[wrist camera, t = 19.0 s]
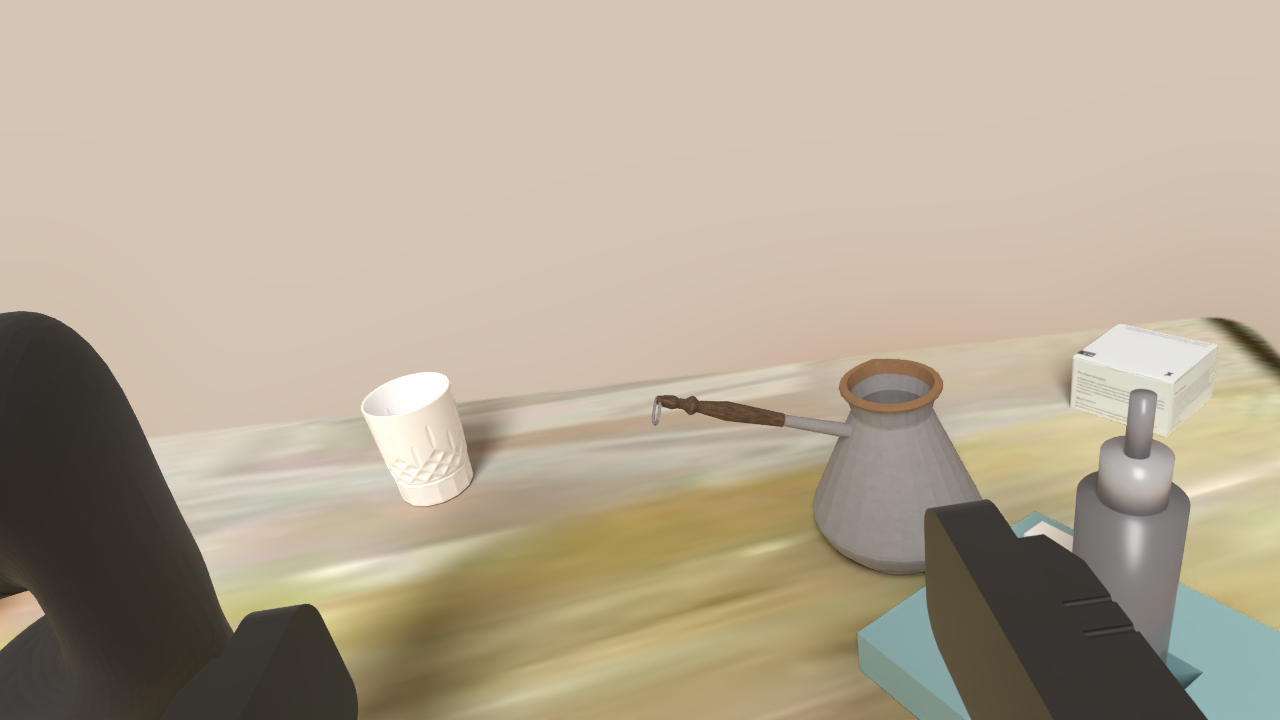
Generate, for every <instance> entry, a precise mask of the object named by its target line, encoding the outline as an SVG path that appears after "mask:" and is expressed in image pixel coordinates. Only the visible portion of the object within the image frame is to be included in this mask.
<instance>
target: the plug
mask: <svg viewBox="0 0 1280 720" xmlns="http://www.w3.org/2000/svg"><path fill="white" fill-rule="evenodd" d="M1157 397H1158V395H1157V393H1155V392H1154V391H1151V390H1148V389H1135V390H1132V391H1131V392H1130V397H1129V407H1128V416H1127V426H1126V435H1125V436H1119V437H1114V438H1111V439H1109V440H1107V441H1105V442H1104V443H1103V444H1102V446H1101V449H1100V460H1099V471H1097V472H1094V473H1091V474H1089V475H1087V476H1086V477H1084V478H1083V479H1082V480H1081V481H1080V483H1079V484H1078V487H1077V496H1076V509H1075V522H1074V535H1073V548H1072V553H1074V554H1075V555H1077V556H1078V557H1080V558H1081V559H1083V560H1084V561H1085V562H1086V563H1087V565H1088V566H1089V567H1090V569H1091V570H1092V571H1093V572H1094V574H1095V575H1096V576H1097V578H1098V579H1099V580H1100V581H1101V583H1102V584H1103V585H1104V587H1105V588H1106V589H1107V590H1108V592H1109V593H1110V594H1111V599H1112V601H1113V602H1117V603H1118V605H1119V606H1120V607H1121V608H1122V610H1123V611H1124V612H1125V614H1126V615H1127V616H1128V617H1129V619H1130V620H1131V621H1132V623H1133V626H1134V629H1135V631H1136V632H1137V631H1140V633H1141V634H1142V635H1143V637H1144V638H1145V639H1146V640H1147V642H1148V643H1149V644H1150V646H1151V647H1152V648H1153V649H1154V651H1155V652H1156V653H1157V655H1158V656H1159V657H1160V658H1161V660H1162V661H1163V662H1164V664H1165V665H1166V661H1167V654H1168V648H1169V642H1170V635H1171V629H1172V622H1173V616H1174V609H1175V603H1176V597H1177V590H1178V584H1179V577H1180V571H1181V564H1182V558H1183V552H1184V545H1185V539H1186V532H1187V526H1188V519H1189V513H1190V501H1189V498H1188V496H1187V495H1186V493H1185V492H1184V491H1183V490H1182V489H1181V488H1180V487H1178V486H1177V485H1176V484H1174V483H1173V482H1172V476H1173V469H1174V461H1175V455H1174V453H1173V451H1172V450H1171V449H1170V448H1169V447H1167V446H1166V445H1164V444H1163V443H1161V442H1159V441H1156V440H1153V439H1152V437H1153V429H1154V421H1155V413H1156V405H1157Z"/></svg>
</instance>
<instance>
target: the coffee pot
mask: <svg viewBox="0 0 1280 720" xmlns="http://www.w3.org/2000/svg"><path fill="white" fill-rule="evenodd" d="M942 389H943V381H942V379H941V377H940V375H939V373H937V372H936V371H935V370H934V369H932V368H931V367H928V366H926V365H924V364H921V363H918V362H914V361H908V360H899V359H872V360H869V361H867V362H865V363H862V364H860V365H858V366H856V367H854V368H853V369H851V370H850V371H848V372H847V373H846V374H845V375H844V376H843V377H842V379H841V381H840V385H839V390H840V393H841V396H842V397H843V398H844V399H845V400H846V401H847V402H848V403H849V405H850V408H851V411H850V413H849V416H848V418H847V420H846V423H841V422H834V421H827V420H819V419H812V418H804V417H797V416H790V415H785V414H783V413H779V412H774V411H770V410H765V409H760V408H756V407H751V406H747V405H742V404H737V403H733V402H728V401H698V400H697V398H696V397H694V396H691V397H689V398H687V399H682V398H680V399H679V398H678V397H676V396H673V395H664V396H657V397H656V398H655V401H654V406H653V413H652V423H653V425H655V426H656V425H658V422H659V419H660V414H661V406H662V407H666V408H669V409H676V408H678V409H684V410H685V411H686V412H687V413H688V414H689V415H692V414H694V413H696V412H698V413H702V414H705V415H708V416H712V417H715V418H718V419H721V420H724V421H733V422H742V423H752V424H761V425H770V426H780V427H783V426H786V427H792V428H797V429H802V430H808V431H813V432H818V433H824V434H829V435H834V436H840V437H839V439H838V441H837V444H836V446H835V448H834V451H833V453H832V455H831V457H830V460H829V462H828V464H827V467H826V469H825V471H824V474H823V476H822V478H821V481H820V483H819V485H818V488H817V490H816V493H815V497H814V501H813V513H814V518H815V522H816V524H817V526H818V527H819V529H820V530H821V532H822V534H823V535H824V537H825V538H826V539H827V541H828V542H829V543H830V544H831V545H832V546H833V547H834V548H835V549H837V550H838V551H839V552H840V553H841V554H842V555H844V556H846V557H848V558H850V559H852V560H854V561H856V562H858V563H860V564H862V565H864V566H866V567H868V568H870V569H873V570H877V571H880V572H884V573H891V574H901V575H902V574H914V573H920V572H923V571H925V539H924V515H925V511H926V510H927V509H928V508H934V507H940V506H946V505H953V504H959V503H966V502H972V501H978V500H982V498H981V496H980V494H979V492H978V490H977V488H976V486H975V484H974V482H973V480H972V479H971V477H970V475H969V473H968V471H967V470H966V468H965V466H964V464H963V462H962V461H961V459H960V457H959V455H958V453H957V451H956V450H955V448H954V446H953V444H952V442H951V441H950V439H949V437H948V435H947V433H946V432H945V430H944V428H943V426H942V424H941V423H940V421H939V419H938V417H937V415H936V413H935V412H934V410H933V404H934V400H935V399H937V398H938V397H939V395H940V393H941V392H942ZM657 404H658V414H657V419H656V422H655V410H656V405H657Z"/></svg>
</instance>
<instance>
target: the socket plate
mask: <svg viewBox="0 0 1280 720" xmlns="http://www.w3.org/2000/svg"><path fill="white" fill-rule="evenodd" d="M1011 529H1012V530H1013V532H1014V533H1015V534H1016V536H1017V537H1018V538H1021V537H1027V536H1034V535H1040V534H1045V535H1046V536H1048V537H1049V538H1051V539H1052V540H1054V541H1055V542H1057V543H1058V544H1060V545H1061V546H1063V547H1065V548H1066V549H1068V550H1069V551H1071V552H1072V548H1073V535H1074V530H1072V529H1070V528H1068V527H1066V526H1064V525H1062V524H1060V523H1058V522H1056V521H1054V520H1052V519H1050V518H1048V517H1046V516H1044V515H1042V514H1040V513H1038V512H1036V511H1034V512H1032V513H1031V514H1030V515H1028V516H1027V517H1025V518H1024V519H1022V520H1021V521H1019V522H1018V523H1016V524H1015V525H1014V526H1012V527H1011ZM857 640H858V652H859V664H860V670H861V671H862V672H863V673H865V674H866V675H867V676H868V677H869V678H871V679H872V680H873V681H874V682H875V683H877V684H878V685H879V686H880V687H881V688H882V689H884V690H885V691H886V692H887V693H888V694H890V695H891V696H892V697H893V698H894V699H896V700H897V701H898V702H899V703H900V704H901V705H903V706H904V707H905V708H906V709H907V710H909V711H910V712H911V713H912V714H913V715H915V716H916V717H917V718H918V719H919V720H971V718H970V716H969V714H968V712H967V710H966V708H965V706H964V703H963V701H962V699H961V697H960V695H959V693H958V690H957V688H956V686H955V684H954V682H953V680H952V677H951V675H950V673H949V671H948V669H947V667H946V664H945V662H944V660H943V658H942V656H941V654H940V651H939V649H938V646H937V644H936V641H935V638H934V635H933V632H932V628H931V624H930V620H929V615H928V609H927V602H926V586H925V587H923V588H922V589H920V590H919V591H917V592H916V593H914V594H913V595H912V596H910V597H909V598H907V599H906V600H904V601H903V602H901V603H900V604H898V605H897V606H896V607H894V608H893V609H891V610H890V611H888V612H887V613H885V614H884V615H882V616H881V617H880V618H878V619H877V620H875V621H874V622H872V623H871V624H869V625H868V626H866V627H865V628H864V629H862V630H861V631H859V632H858V633H857ZM1166 666H1167V667H1168V669H1169V670H1170V671H1171V673H1172V674H1173V675H1174V676H1175V678H1176V679H1177V680H1178V682H1179V683H1180V684H1181V685H1182V687H1183V688H1184V689H1185V691H1186V692H1187V693H1188V694H1189V696H1190V697H1191V698H1192V700H1193V701H1194V702H1195V703H1196V705H1197V706H1198V707H1199V709H1200V710H1201V711H1202V712H1203V714H1204V715H1205V716H1206V718H1207V719H1208V720H1280V632H1277V631H1275V630H1273V629H1271V628H1269V627H1267V626H1265V625H1263V624H1261V623H1259V622H1257V621H1255V620H1253V619H1251V618H1249V617H1247V616H1245V615H1243V614H1241V613H1239V612H1237V611H1235V610H1233V609H1231V608H1229V607H1227V606H1225V605H1223V604H1221V603H1219V602H1217V601H1215V600H1213V599H1211V598H1209V597H1207V596H1205V595H1203V594H1201V593H1199V592H1197V591H1195V590H1193V589H1191V588H1189V587H1187V586H1185V585H1183V584H1181V583H1179V584H1178V590H1177V597H1176V603H1175V609H1174V616H1173V622H1172V629H1171V635H1170V642H1169V648H1168V654H1167V661H1166Z"/></svg>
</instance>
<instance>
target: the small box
mask: <svg viewBox="0 0 1280 720" xmlns="http://www.w3.org/2000/svg"><path fill="white" fill-rule="evenodd" d="M1217 352H1218V344H1213V343H1208V342H1203V341H1198V340H1193V339H1188V338H1184V337H1179V336H1175V335H1170V334H1165V333H1161V332H1156V331H1152V330H1147V329H1143V328H1138V327H1134V326H1129V325H1125V324H1118V325H1116V326H1115V327H1113V328H1112V329H1110V330H1109V331H1108V332H1106V333H1105V334H1104V335H1102V336H1101V337H1099V338H1098V339H1097V340H1095V341H1094V342H1093V343H1091V344H1090V345H1088V346H1087V347H1085V348H1084V349H1082V350H1081V351H1080V352H1078V353H1077V354H1075V355H1074V356H1073V357H1072V380H1071V397H1070V408H1073V409H1076V410H1079V411H1083V412H1086V413H1089V414H1092V415H1095V416H1098V417H1102V418H1105V419H1108V420H1111V421H1115V422H1118V423H1121V424H1124V425H1127V416H1128V407H1129V397H1130V392H1131V391H1132V390H1135V389H1148V390H1151V391H1154V392H1155V393H1157V395H1158V397H1157V405H1156V413H1155V421H1154V429H1153V434H1156V435H1159V436H1162V437H1168V436H1169V435H1170V434H1171V433H1172V432H1173V431H1174V430H1175V429H1176V428H1178V427H1179V426H1180V425H1181V424H1182V423H1183V422H1185V421H1186V420H1187V419H1188V418H1189V417H1190V416H1191V415H1193V414H1194V413H1195V412H1196V411H1197V410H1198V409H1200V408H1201V407H1202V406H1203V405H1204V404H1205V403H1206V402H1207V401H1209V400H1210V399H1211V397H1212V390H1213V380H1214V373H1215V366H1216V359H1217Z"/></svg>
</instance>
